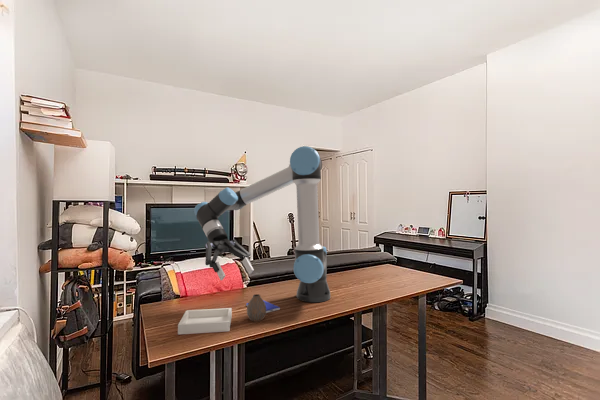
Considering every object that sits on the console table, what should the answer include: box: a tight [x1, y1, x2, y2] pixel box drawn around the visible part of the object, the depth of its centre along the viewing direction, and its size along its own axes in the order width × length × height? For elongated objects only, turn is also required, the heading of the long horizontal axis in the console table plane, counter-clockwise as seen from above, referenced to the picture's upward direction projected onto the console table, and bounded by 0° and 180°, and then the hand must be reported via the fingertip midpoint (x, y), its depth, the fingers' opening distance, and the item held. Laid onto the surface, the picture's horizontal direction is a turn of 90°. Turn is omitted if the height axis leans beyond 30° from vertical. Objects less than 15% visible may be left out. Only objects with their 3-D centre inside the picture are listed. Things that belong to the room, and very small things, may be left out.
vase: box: [246, 293, 267, 322], centre depth 111 cm, size 7×7×9 cm
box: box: [177, 307, 233, 335], centre depth 106 cm, size 16×14×3 cm
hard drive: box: [245, 299, 281, 314], centre depth 124 cm, size 2×8×12 cm
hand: (238, 275), depth 118 cm, fingers open, 13 cm apart
